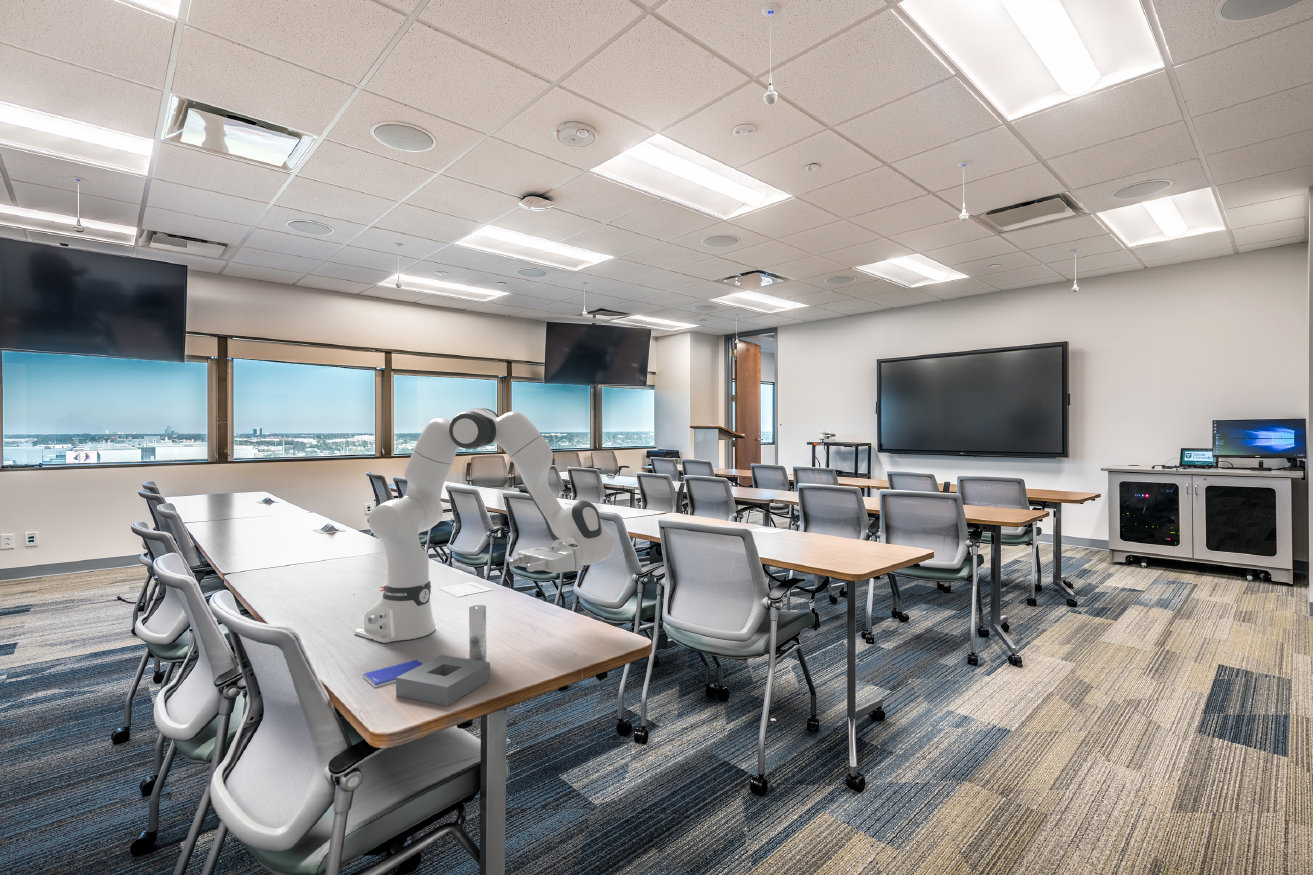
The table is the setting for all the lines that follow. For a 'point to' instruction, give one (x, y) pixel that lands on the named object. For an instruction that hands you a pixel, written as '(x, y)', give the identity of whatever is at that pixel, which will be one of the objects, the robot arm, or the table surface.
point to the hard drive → (389, 673)
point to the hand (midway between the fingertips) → (518, 565)
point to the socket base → (442, 679)
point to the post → (477, 632)
